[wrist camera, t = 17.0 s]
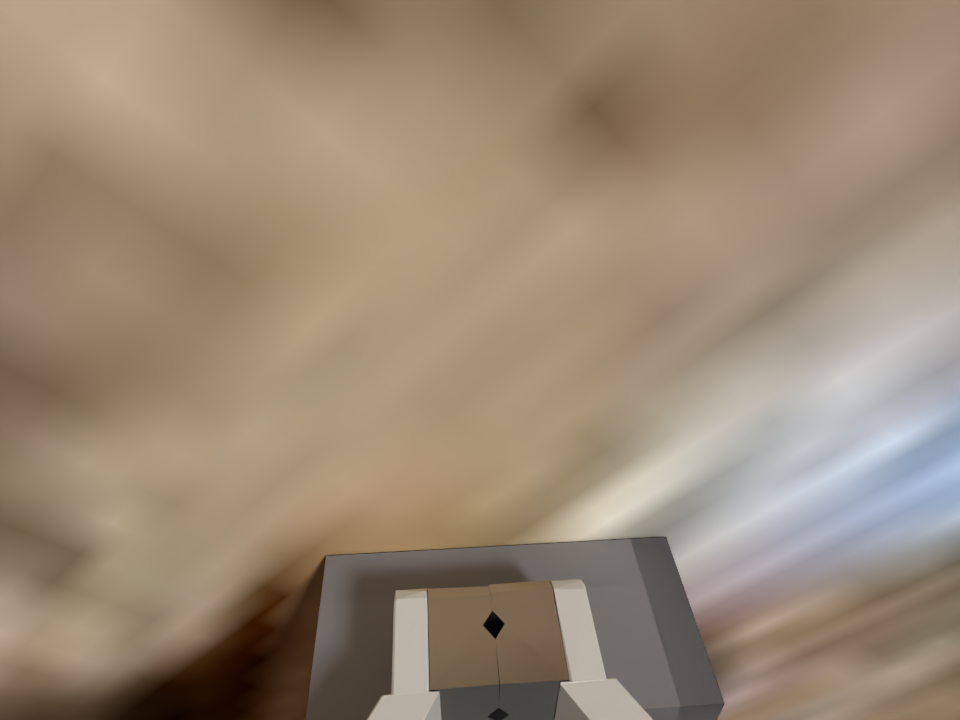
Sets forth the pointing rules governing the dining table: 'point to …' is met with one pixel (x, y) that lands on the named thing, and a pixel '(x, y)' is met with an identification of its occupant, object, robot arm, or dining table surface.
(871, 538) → the dining table surface
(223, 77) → the dining table surface
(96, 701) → the dining table surface
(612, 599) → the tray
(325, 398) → the dining table surface
